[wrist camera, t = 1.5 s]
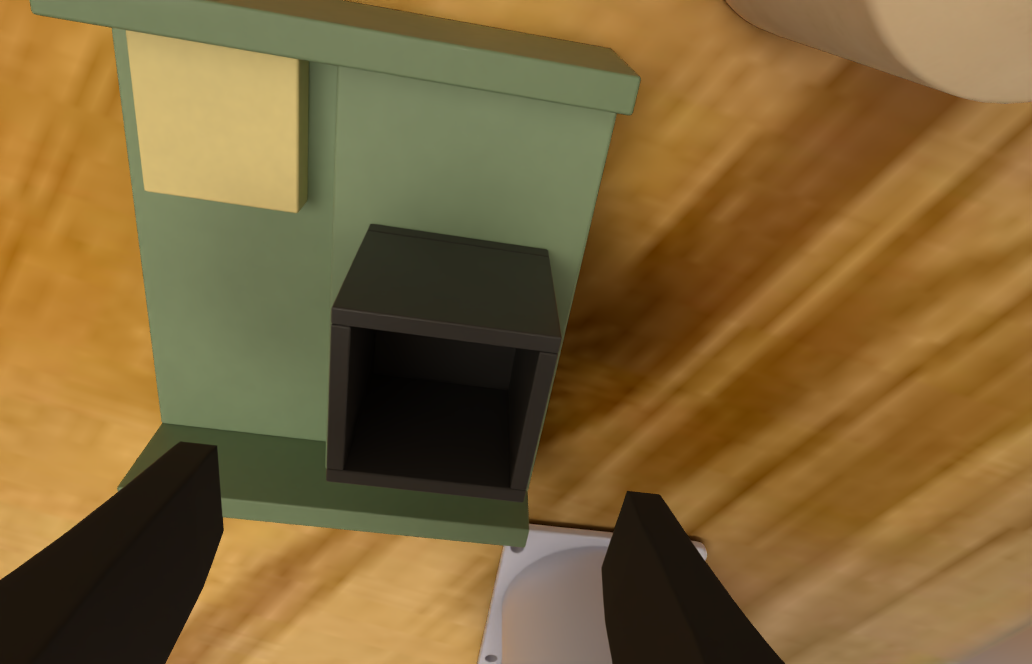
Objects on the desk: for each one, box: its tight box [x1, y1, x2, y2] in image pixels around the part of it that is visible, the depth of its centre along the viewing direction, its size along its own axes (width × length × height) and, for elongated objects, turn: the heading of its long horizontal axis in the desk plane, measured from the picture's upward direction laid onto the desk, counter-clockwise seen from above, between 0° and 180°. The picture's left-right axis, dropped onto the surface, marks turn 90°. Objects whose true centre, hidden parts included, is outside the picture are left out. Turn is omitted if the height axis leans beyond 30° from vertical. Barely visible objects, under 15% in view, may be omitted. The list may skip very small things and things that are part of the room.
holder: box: [326, 224, 562, 502], centre depth 16 cm, size 5×5×4 cm
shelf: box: [30, 0, 641, 548], centre depth 18 cm, size 14×12×4 cm
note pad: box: [126, 30, 309, 213], centre depth 16 cm, size 4×4×1 cm
